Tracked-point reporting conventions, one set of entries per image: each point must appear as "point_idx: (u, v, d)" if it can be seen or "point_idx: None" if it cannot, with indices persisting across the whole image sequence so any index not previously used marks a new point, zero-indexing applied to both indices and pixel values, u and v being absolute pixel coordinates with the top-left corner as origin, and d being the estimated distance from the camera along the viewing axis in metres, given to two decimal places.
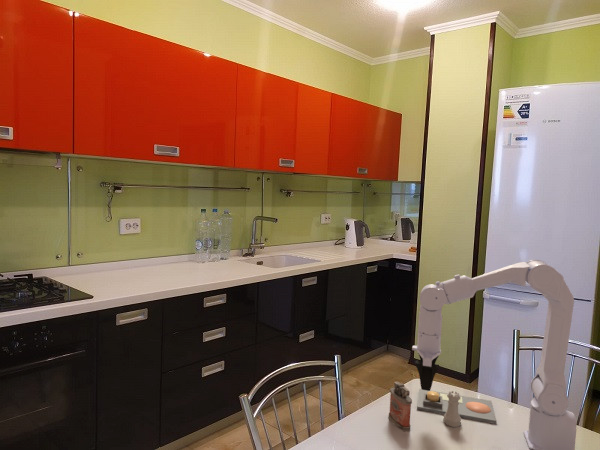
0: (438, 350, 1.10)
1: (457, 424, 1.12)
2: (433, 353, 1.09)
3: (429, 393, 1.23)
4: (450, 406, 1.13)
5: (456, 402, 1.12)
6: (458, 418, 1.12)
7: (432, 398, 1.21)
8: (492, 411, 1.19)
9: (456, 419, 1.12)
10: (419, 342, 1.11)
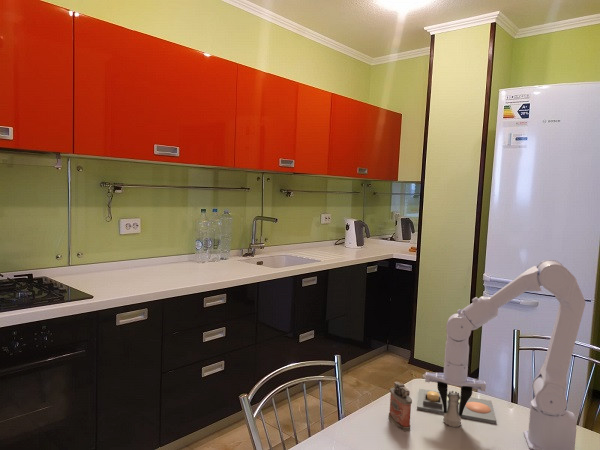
0: (449, 379, 1.11)
1: (457, 424, 1.12)
2: (444, 378, 1.12)
3: (429, 393, 1.23)
4: (450, 406, 1.13)
5: (456, 402, 1.12)
6: (458, 418, 1.12)
7: (432, 398, 1.21)
8: (492, 411, 1.19)
9: (456, 419, 1.12)
10: None
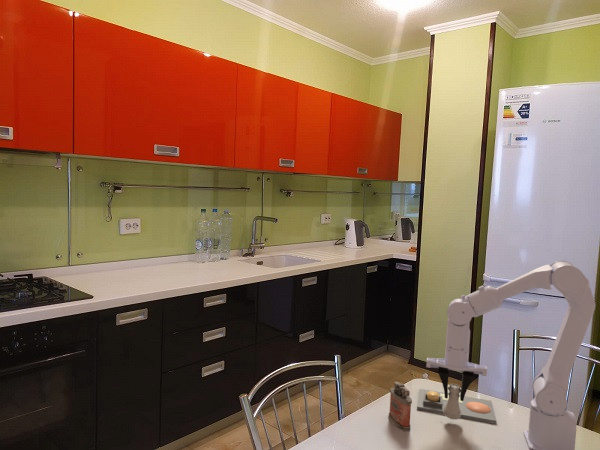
0: (450, 364, 1.10)
1: (458, 416, 1.12)
2: (445, 363, 1.12)
3: (429, 393, 1.23)
4: (451, 399, 1.12)
5: (457, 394, 1.12)
6: (459, 410, 1.12)
7: (432, 398, 1.21)
8: (492, 411, 1.19)
9: (457, 412, 1.11)
10: None
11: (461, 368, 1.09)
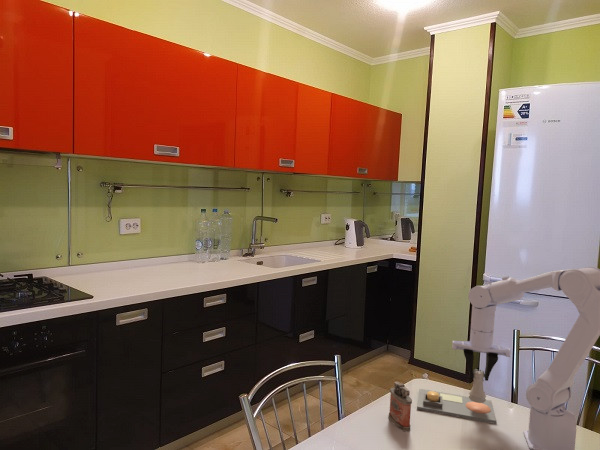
0: (476, 345, 1.17)
1: (483, 400, 1.18)
2: (470, 345, 1.19)
3: (429, 393, 1.23)
4: (476, 383, 1.19)
5: (481, 379, 1.18)
6: (484, 394, 1.18)
7: (432, 398, 1.21)
8: (492, 411, 1.19)
9: (482, 395, 1.18)
10: None
11: (486, 349, 1.16)
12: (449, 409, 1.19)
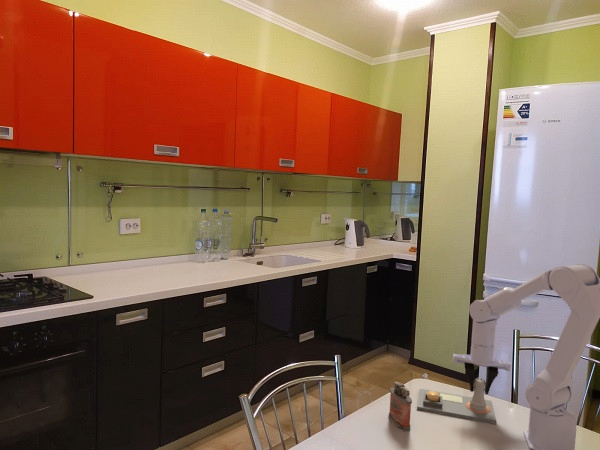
0: (476, 359, 1.18)
1: (483, 409, 1.19)
2: (471, 359, 1.20)
3: (429, 393, 1.23)
4: (477, 392, 1.19)
5: (482, 388, 1.19)
6: (484, 403, 1.19)
7: (432, 398, 1.21)
8: (492, 411, 1.19)
9: (483, 404, 1.18)
10: None
11: (487, 363, 1.17)
12: (449, 409, 1.19)
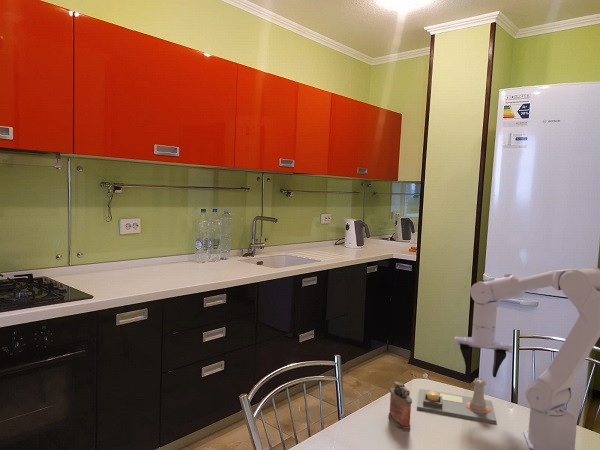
0: (478, 341, 1.18)
1: (483, 409, 1.19)
2: (472, 341, 1.19)
3: (429, 393, 1.23)
4: (476, 392, 1.19)
5: (482, 388, 1.19)
6: (484, 403, 1.19)
7: (432, 398, 1.21)
8: (492, 411, 1.19)
9: (483, 404, 1.18)
10: None
11: (488, 345, 1.17)
12: (449, 409, 1.19)
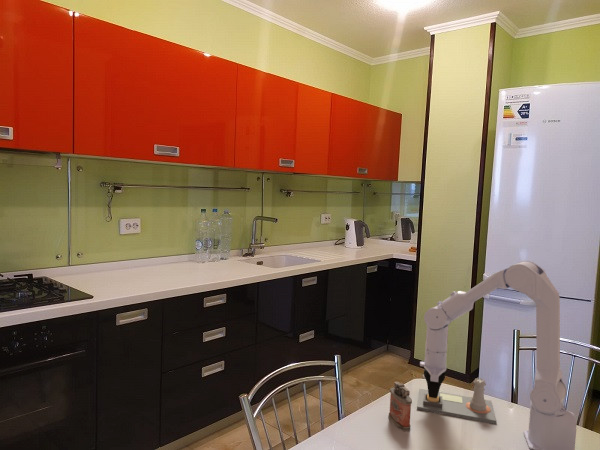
0: (444, 366, 1.20)
1: (483, 409, 1.19)
2: (439, 369, 1.19)
3: None
4: (476, 392, 1.19)
5: (482, 388, 1.19)
6: (484, 403, 1.19)
7: (432, 401, 1.21)
8: (492, 411, 1.19)
9: (483, 404, 1.18)
10: (426, 359, 1.21)
11: None
12: (449, 409, 1.19)
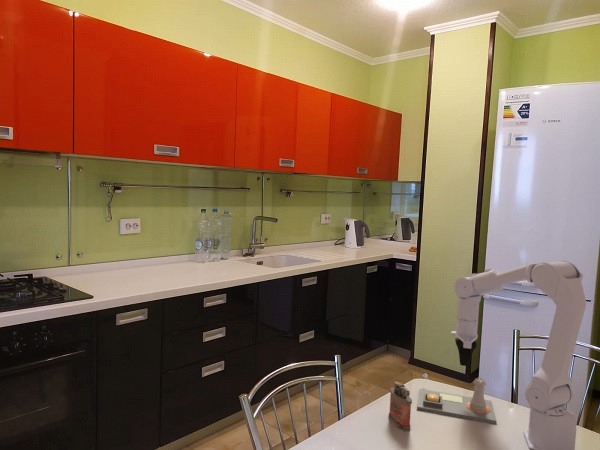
0: (475, 334, 1.23)
1: (483, 409, 1.19)
2: (471, 337, 1.23)
3: (429, 396, 1.23)
4: (476, 392, 1.19)
5: (482, 388, 1.19)
6: (484, 403, 1.19)
7: (432, 401, 1.21)
8: (492, 411, 1.19)
9: (483, 404, 1.18)
10: (458, 327, 1.24)
11: None
12: (449, 409, 1.19)
